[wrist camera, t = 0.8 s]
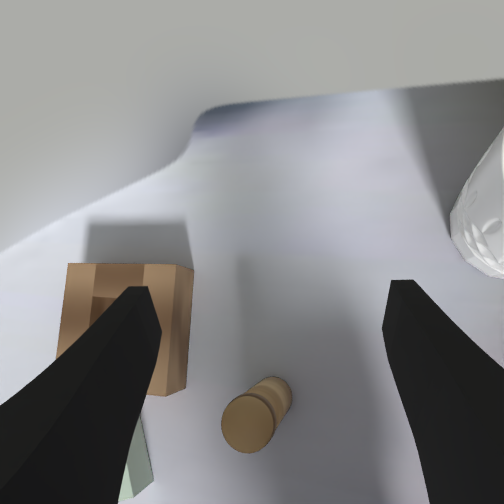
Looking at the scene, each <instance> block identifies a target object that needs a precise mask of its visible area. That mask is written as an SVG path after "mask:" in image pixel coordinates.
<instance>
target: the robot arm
mask: <svg viewBox="0 0 504 504" xmlns="http://www.w3.org/2000/svg"><path fill="white" fill-rule="evenodd" d="M382 332H383V337H384V342H385V347H386V352H387V357H388V361H389V364H390V367H391V370H392V373H393V376H394V379H395V383H396V386H397V389H398V391H399V394H400V397H401V400H402V403H403V406H404V409H405V412H406V415H407V418H408V421H409V424H410V427H411V430H412V433H413V436H414V439H415V443H416V446H417V450H418V454H419V458H420V462H421V466H422V471H423V475H424V479H425V484H426V488H427V492H428V497H429V502H430V504H504V369H503V368H502V367H501V366H500V365H499V364H498V363H497V362H495V361H494V360H493V359H492V358H491V357H490V356H489V355H488V354H486V353H485V352H484V351H483V350H482V349H481V348H480V347H479V346H478V345H477V344H476V343H475V342H473V341H472V340H471V339H470V338H469V337H468V336H467V335H466V334H465V333H464V332H463V331H462V330H461V329H460V328H459V327H458V326H457V325H456V324H455V323H454V322H453V321H452V320H451V319H450V318H449V317H448V316H447V315H446V314H445V313H444V312H443V311H442V310H441V308H440V307H439V306H438V305H437V304H436V303H435V302H434V301H433V300H432V299H431V298H430V297H429V296H428V295H427V294H426V293H425V291H424V290H423V289H422V288H421V287H420V286H419V285H418V284H417V283H416V282H415V281H414V280H391V284H390V289H389V294H388V300H387V305H386V310H385V315H384V320H383V325H382ZM161 336H162V329H161V326H160V323H159V320H158V317H157V313H156V310H155V307H154V304H153V301H152V298H151V295H150V291H149V288H148V286H128V287H127V288H126V289H125V290H124V291H123V292H122V293H121V295H120V296H119V297H118V298H117V299H116V300H115V301H114V302H113V303H112V304H111V305H110V306H109V307H108V308H107V309H106V310H105V311H104V312H103V314H102V315H101V316H100V317H99V318H98V319H97V320H96V321H95V322H94V323H93V324H92V325H91V326H90V327H89V328H88V329H87V330H86V331H85V332H84V333H83V334H82V335H81V336H80V337H79V338H78V339H77V340H76V341H75V342H74V343H73V344H72V345H71V346H70V347H69V348H68V349H67V350H66V351H65V352H64V353H63V354H61V355H60V356H59V357H58V358H57V359H56V360H55V361H54V362H53V363H52V364H51V365H50V366H49V367H47V368H46V369H45V370H44V371H43V372H42V373H41V374H39V375H38V376H37V377H36V378H35V379H34V380H32V381H31V382H30V383H29V384H27V385H26V386H25V387H24V388H22V389H21V390H20V391H19V392H18V393H16V394H15V395H14V396H12V397H11V398H10V399H9V400H7V401H6V402H4V403H3V404H2V405H0V504H118V500H119V495H120V490H121V485H122V480H123V475H124V471H125V466H126V462H127V457H128V453H129V448H130V445H131V441H132V438H133V434H134V431H135V428H136V425H137V422H138V418H139V415H140V412H141V409H142V406H143V403H144V400H145V397H146V394H147V391H148V388H149V385H150V382H151V379H152V375H153V372H154V369H155V366H156V363H157V358H158V353H159V348H160V342H161Z"/></svg>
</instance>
